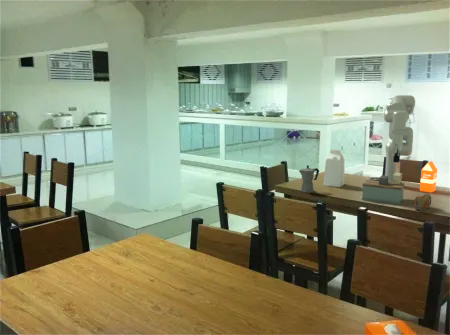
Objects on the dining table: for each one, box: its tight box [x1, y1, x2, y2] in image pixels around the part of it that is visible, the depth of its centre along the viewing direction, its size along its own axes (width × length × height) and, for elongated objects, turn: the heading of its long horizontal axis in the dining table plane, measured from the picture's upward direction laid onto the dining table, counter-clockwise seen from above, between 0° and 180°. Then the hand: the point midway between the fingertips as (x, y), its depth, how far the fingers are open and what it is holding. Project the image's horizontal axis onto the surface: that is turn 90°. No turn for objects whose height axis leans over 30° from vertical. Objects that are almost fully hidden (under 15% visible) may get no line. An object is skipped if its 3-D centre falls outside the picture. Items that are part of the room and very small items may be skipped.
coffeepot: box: [298, 165, 320, 194], centre depth 287 cm, size 15×9×18 cm, turn 107°
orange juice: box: [419, 161, 438, 193], centre depth 286 cm, size 8×9×20 cm
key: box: [393, 172, 403, 184], centre depth 264 cm, size 8×4×6 cm, turn 149°
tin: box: [413, 193, 432, 211], centre depth 244 cm, size 15×3×8 cm, turn 126°
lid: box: [361, 174, 405, 190], centre depth 263 cm, size 14×23×6 cm, turn 59°
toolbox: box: [361, 181, 405, 205], centre depth 266 cm, size 18×22×10 cm
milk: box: [323, 148, 345, 188], centre depth 304 cm, size 12×12×26 cm
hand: (396, 161), depth 255 cm, fingers closed
